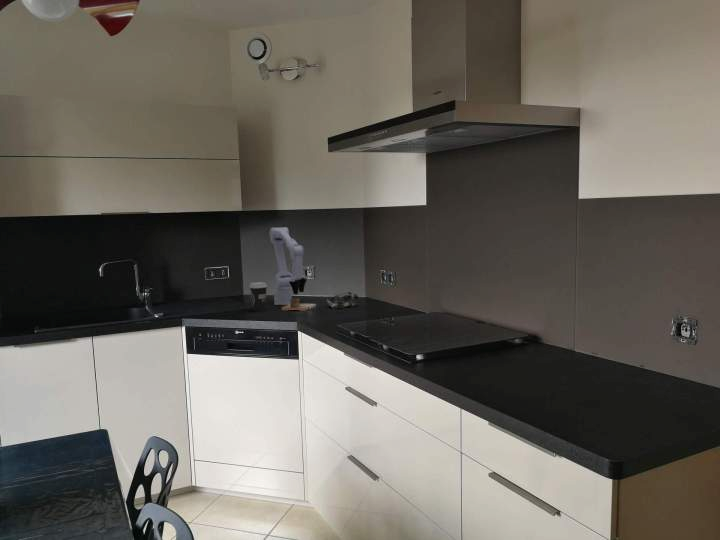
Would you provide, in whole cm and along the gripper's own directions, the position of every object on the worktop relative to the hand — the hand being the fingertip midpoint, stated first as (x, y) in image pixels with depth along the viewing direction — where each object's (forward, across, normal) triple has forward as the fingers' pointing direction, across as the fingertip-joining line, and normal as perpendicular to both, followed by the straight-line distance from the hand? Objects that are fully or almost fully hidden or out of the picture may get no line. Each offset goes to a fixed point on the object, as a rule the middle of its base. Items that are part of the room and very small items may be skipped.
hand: (298, 293), depth 310 cm
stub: (+8, -4, 0) cm, 9 cm away
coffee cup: (+9, -9, +19) cm, 23 cm away
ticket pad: (+8, +3, 0) cm, 9 cm away
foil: (+9, +9, -22) cm, 25 cm away
